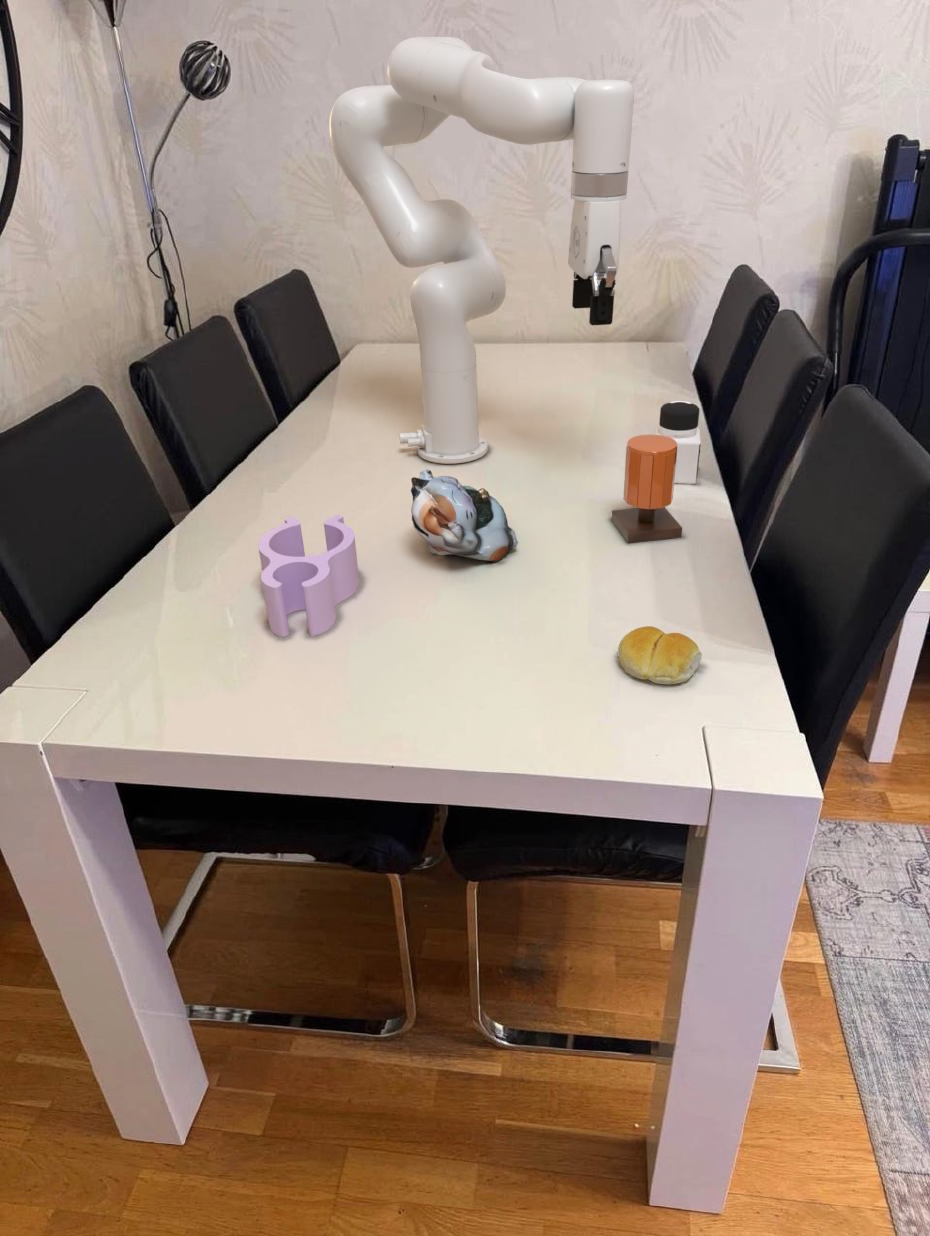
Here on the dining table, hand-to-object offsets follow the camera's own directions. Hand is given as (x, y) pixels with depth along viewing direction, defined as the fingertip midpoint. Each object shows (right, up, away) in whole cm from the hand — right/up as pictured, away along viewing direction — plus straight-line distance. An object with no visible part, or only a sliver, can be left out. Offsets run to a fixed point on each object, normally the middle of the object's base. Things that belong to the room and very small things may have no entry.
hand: (591, 315), depth 130 cm
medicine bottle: (+16, -21, +18) cm, 32 cm away
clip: (-39, -41, -12) cm, 58 cm away
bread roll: (+4, -49, -29) cm, 57 cm away
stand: (+8, -31, +1) cm, 32 cm away
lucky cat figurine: (-18, -35, -3) cm, 39 cm away
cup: (+8, -27, -1) cm, 28 cm away
